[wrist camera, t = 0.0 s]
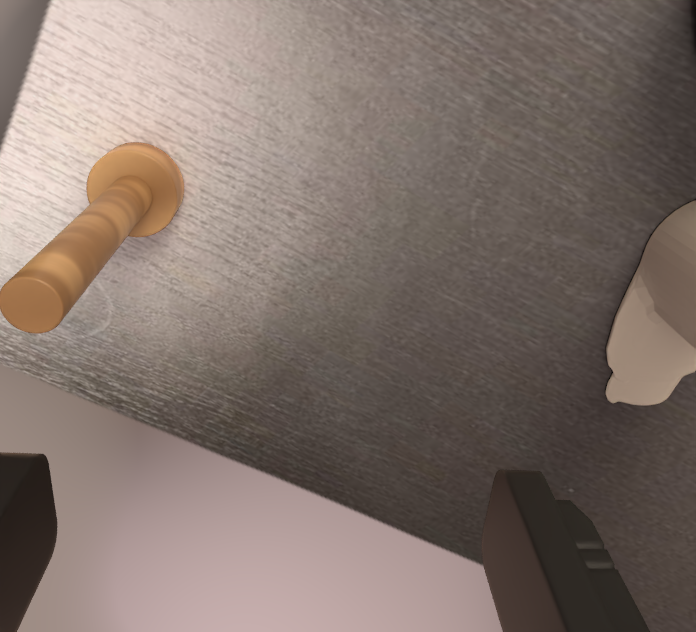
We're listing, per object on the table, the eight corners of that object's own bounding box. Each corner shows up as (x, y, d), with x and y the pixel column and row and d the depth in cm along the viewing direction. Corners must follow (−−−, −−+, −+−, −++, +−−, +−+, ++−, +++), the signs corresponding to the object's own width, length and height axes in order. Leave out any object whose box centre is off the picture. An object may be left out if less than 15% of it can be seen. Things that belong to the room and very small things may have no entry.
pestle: (79, 176, 34) (-73, 293, 21) (143, 124, 33) (26, 212, 20) (139, 241, 36) (34, 389, 22) (201, 193, 35) (130, 318, 21)
